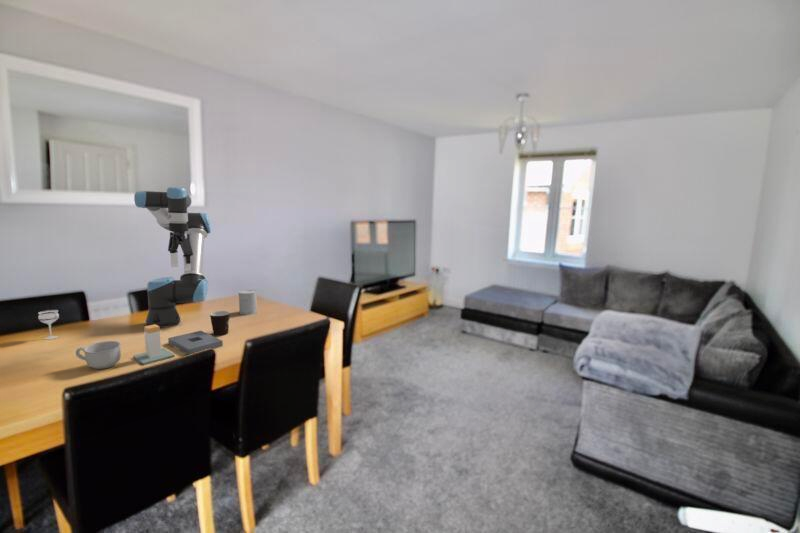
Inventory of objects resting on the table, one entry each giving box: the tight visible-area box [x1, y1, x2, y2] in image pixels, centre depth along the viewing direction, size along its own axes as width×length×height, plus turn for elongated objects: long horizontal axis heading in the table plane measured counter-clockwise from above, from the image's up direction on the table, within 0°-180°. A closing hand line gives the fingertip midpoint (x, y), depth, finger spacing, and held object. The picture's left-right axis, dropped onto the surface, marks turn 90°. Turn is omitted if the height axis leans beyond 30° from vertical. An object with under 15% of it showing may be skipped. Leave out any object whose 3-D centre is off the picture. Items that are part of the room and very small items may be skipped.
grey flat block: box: [167, 330, 224, 356], centre depth 166 cm, size 20×14×2 cm
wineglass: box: [37, 309, 60, 340], centre depth 168 cm, size 7×7×12 cm
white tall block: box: [143, 324, 162, 358], centre depth 151 cm, size 4×4×12 cm
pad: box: [132, 347, 176, 366], centre depth 151 cm, size 11×11×1 cm
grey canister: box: [238, 289, 258, 316], centre depth 217 cm, size 10×10×12 cm
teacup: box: [75, 340, 122, 370], centre depth 142 cm, size 14×11×8 cm
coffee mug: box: [209, 310, 231, 337], centre depth 182 cm, size 12×9×10 cm
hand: (181, 268), depth 174 cm, fingers open, 13 cm apart
